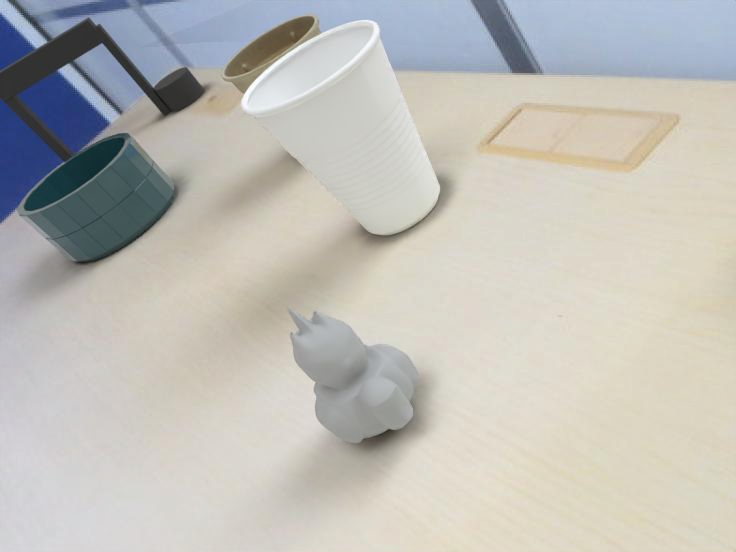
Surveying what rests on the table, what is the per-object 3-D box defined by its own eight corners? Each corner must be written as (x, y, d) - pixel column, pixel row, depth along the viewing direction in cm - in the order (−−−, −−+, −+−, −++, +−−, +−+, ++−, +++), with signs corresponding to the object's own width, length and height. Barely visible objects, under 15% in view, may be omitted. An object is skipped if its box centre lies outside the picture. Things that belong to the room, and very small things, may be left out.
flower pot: (351, 157, 64) (284, 59, 58) (271, 178, 68) (200, 88, 61) (392, 97, 69) (334, 1, 63) (315, 120, 73) (254, 32, 67)
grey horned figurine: (397, 366, 42) (307, 257, 36) (463, 404, 38) (373, 287, 32) (327, 435, 41) (221, 332, 35) (388, 482, 37) (279, 374, 31)
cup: (401, 168, 59) (312, 28, 51) (491, 166, 53) (407, 9, 45) (321, 253, 55) (211, 116, 47) (410, 261, 49) (302, 107, 41)
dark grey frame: (68, 179, 94) (-24, 89, 85) (72, 165, 97) (-16, 77, 88) (205, 96, 94) (127, -2, 85) (204, 85, 97) (129, -11, 88)
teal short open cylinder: (50, 274, 74) (-7, 225, 70) (121, 197, 81) (73, 148, 76) (131, 255, 69) (75, 201, 65) (199, 174, 76) (153, 121, 71)
